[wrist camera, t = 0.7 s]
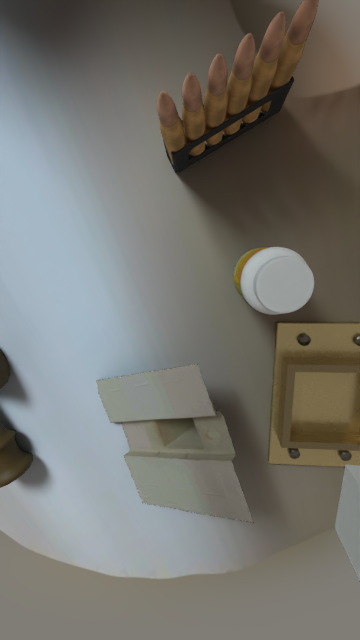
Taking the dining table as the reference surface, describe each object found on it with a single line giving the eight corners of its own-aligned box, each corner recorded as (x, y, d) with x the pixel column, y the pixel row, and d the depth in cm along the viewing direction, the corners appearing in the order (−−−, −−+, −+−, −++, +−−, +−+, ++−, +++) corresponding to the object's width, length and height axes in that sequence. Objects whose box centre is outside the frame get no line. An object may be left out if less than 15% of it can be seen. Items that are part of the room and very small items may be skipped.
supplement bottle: (222, 282, 30) (230, 296, 20) (253, 236, 29) (277, 230, 19) (264, 310, 30) (291, 337, 21) (297, 266, 29) (342, 274, 19)
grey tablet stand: (191, 463, 40) (287, 494, 29) (141, 507, 35) (234, 566, 23) (151, 353, 40) (231, 339, 28) (93, 380, 34) (164, 376, 22)
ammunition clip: (175, 173, 28) (155, 119, 16) (166, 155, 28) (139, 86, 16) (280, 110, 26) (341, -3, 14) (271, 90, 26) (327, -43, 14)
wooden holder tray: (276, 322, 30) (283, 328, 28) (386, 322, 29) (403, 329, 27) (267, 459, 34) (272, 476, 32) (364, 464, 33) (377, 481, 31)
